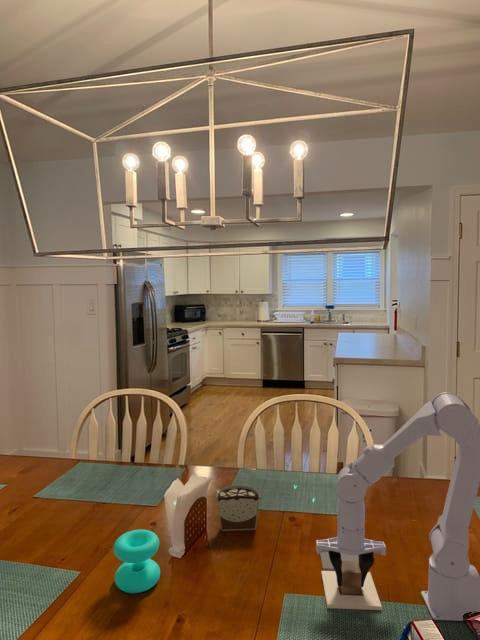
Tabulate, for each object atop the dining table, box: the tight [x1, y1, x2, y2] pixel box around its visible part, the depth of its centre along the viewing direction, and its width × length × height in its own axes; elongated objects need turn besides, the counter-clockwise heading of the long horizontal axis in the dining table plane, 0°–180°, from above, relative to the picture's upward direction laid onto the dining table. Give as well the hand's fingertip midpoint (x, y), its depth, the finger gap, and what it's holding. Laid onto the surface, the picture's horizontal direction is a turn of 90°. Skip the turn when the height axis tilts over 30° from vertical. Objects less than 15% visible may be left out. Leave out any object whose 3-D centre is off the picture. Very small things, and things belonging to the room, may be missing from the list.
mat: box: [319, 552, 359, 571], centre depth 113 cm, size 10×10×1 cm
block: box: [339, 561, 362, 596], centre depth 101 cm, size 4×4×6 cm
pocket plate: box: [321, 570, 383, 611], centre depth 101 cm, size 11×11×1 cm
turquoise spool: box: [113, 529, 161, 594], centre depth 105 cm, size 10×10×10 cm
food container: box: [215, 484, 262, 532], centre depth 128 cm, size 12×6×10 cm, turn 92°
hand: (349, 583), depth 101 cm, fingers closed on block, 4 cm apart
